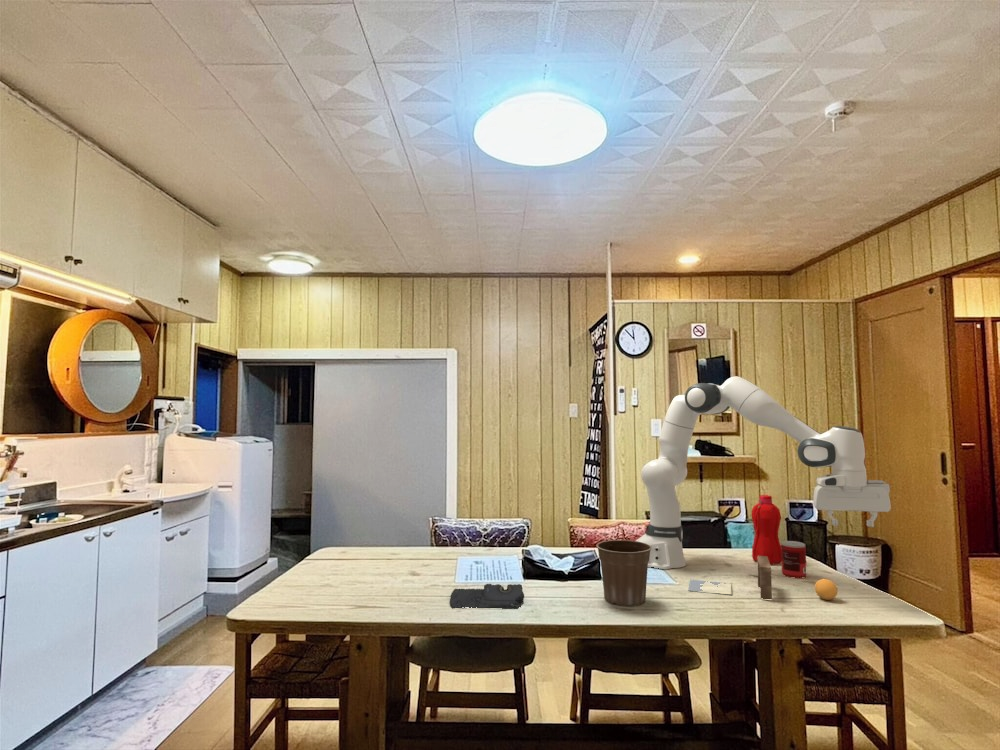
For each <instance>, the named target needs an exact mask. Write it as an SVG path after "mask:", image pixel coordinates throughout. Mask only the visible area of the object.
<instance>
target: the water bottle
mask: <svg viewBox="0 0 1000 750" xmlns="http://www.w3.org/2000/svg"><path fill="white" fill-rule="evenodd" d="M758 499H759V500H758V501H759V502H758V503H757V504H755V505H754V506H753V507H752V508H751V520H752V525H753V529H754V539H753V544H752V549H751V550H752V551H751V557H752V560H753V561H754V562H756V563H758V560H757V556H767V557H768V560H769V563H770V566H772V565H777V564H782V556H781V542H780V538H779V530H780V523H781V519H782V515H781V511H780V509H779V508H778V506H776V505H775V504H773V497H772V495H768V494H761V495H759V498H758Z"/></svg>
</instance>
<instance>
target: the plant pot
mask: <svg viewBox="0 0 1000 750" xmlns="http://www.w3.org/2000/svg"><path fill="white" fill-rule="evenodd" d="M596 548H597V551H598V559H599V560H600V561H599V562H600V567H601V576H602V577H601V578H602V585H603V594H604V595H603V596H604V597H603V598H604V599H605V602H607V603H609V604H612V605H614V604H617V605H618V606H622V607H624V606H625V607H635V606H640V605H642V604H643V603H646V599H647V582H648V581H647V580H648V568H649V567H648V562H649V557H650V550H651V549H652V547H651V546H650V545H648V544H646V543H642V542H638V541H636V540H632V539H631V540H630V539H629V540H628V539H612V540H610V539H609V540H604V541H601V542H598V543H596Z"/></svg>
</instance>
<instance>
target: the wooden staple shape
mask: <svg viewBox="0 0 1000 750" xmlns="http://www.w3.org/2000/svg"><path fill="white" fill-rule="evenodd" d="M757 560H758V562H757V587H760V588H759V589H760V599H761V598H763V599H772V600H773V586H772V585H773V584H772V580H773V579H772V565H770V563H769V560H768V557H767V556H757Z"/></svg>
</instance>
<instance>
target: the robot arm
mask: <svg viewBox="0 0 1000 750" xmlns="http://www.w3.org/2000/svg"><path fill="white" fill-rule="evenodd" d="M730 408H731V409H733V410H734V411H735V412H736V413H738V414H739V415H741V417H743V418H744V419H745V420H747V421H749V422H751V423H752V424H755V425H757V426H760V427H767V428H771V429H774V430H778V431H780V432H783V433H784V434H786V435H788V436H789V437H791V438H792V439H793V440H795V441H797V442H798V443H799V444H798V446H797V451H796V452H797V456H798V459H799V460H800V461H801V463H802V464H804V465H805V466H807V467H810V468H814V469H815V468H819V469H820V468H832V473H829V474H825V475H821V476H818V477H817V478H816V484H818V485H816V486H815V487H814V490H813V499H812V501H813V507H814V508H815V509H816V510H817V511H826V513H827V516H829V518H830V519H831V525H832V526H835V527H837V526H839V519H837V518H835V517H834V516H833V515H834V513H835V512H834V511H840V512H841V511H842V512H845V511H847V512H869V513H870V518H869V519H866V521H865V522H866V526H867V527H868V528H874V526H875V521H876V519H877V517H878V512H880V513H888V512H890V511H891V510H892V505H891V500H890V499H891V498H890V495H889V494H890V492H891V490H890V489H891V488H890V487H891V486H890V484H889V483H888V482H886V481H884V480H881V479H878V480H875V479H874V480H873V479H867V469H866V466H865V457H866V449H865V441H864V436H863V434H862V432H861V431H860V430H859V429H857V428H854V427H849V426H842V425H836V426H835V425H834V426H832V427H831V428H830V429H829V430H827V431H825V432H823V433H821V432H819V431H817V430H815V429H814V428H812V427H811V426H810V425H808V424H806V423H805V422H803V421H802V420H801V419H799V418H798V417H797V416H795V415H793V414H792V413H790V411H788V410H787V409H786V408H785V407H783V406H782V405H781V404H780V403H779V402H777V400H775V398H773V397H772V396H770V395H769V394H768V393H767V392H766V391H764V390H763V389H761V387H759V386H758V385H756V384H754V383H752V382H750V381H749V380H747V379H745V378H743V377H740V376H736V375H735V376H731V377H729V378H727V379H726V380H724V382H723V383H722V384H721V385H719V384H715V383H711V382H709V383H705V382H700V383H699V382H698V383H695V384H692V385H690V386H689V387H688V388H687V390H686V391H685V393H684V394H679V395H675V396H674V398H673V399H672V401H671V402H670V405H669V406H668V409H667V411H666V413H665V417H664V418H663V419H664V420H663V423H662V427H661V430H660V434H659V438H658V442H659V453H658V455H659V456H658V458H656V459H652V460H650V461H649V462H647V463H646V464H644V465H643V467H642V469H641V471H640V476H641V480H642V482H643V484H644V485H645V488H646V491H647V496H648V500H649V520H650V522H647V523H645V524H644V534H642V536H640V537H639V538H638V539H635V541H638V542H642V543H646V544H648V545H650V546H651V547H652V549H651V550H650V557H649V562H648V568H651V567H654V568H653V569H658V568H659V569H660V570H670V569H678V568H683V567H685V566H686V565H687V562H686V559H685V555H684V551H683V543H682V542H683V537H684V536H683V535H684V534H683V526H682V522H681V517H682V516H681V512H682V511H681V509H682V508H681V506H682V505H681V504H680V503H681V502H679V498H678V497H677V492H676V486H678V485H680V484H681V483H682V482H684V481H685V480H686V478H687V475H688V468H687V464H688V456H689V455H688V454H689V453H688V452H689V447H690V443H691V440H692V437H693V433H694V431H695V425H696V424H697V423H696V422H697V420H698V418H699V416H701V415H702V414H703V415H720V414H723V413H725V412H726V411H728V410H729V409H730Z"/></svg>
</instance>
